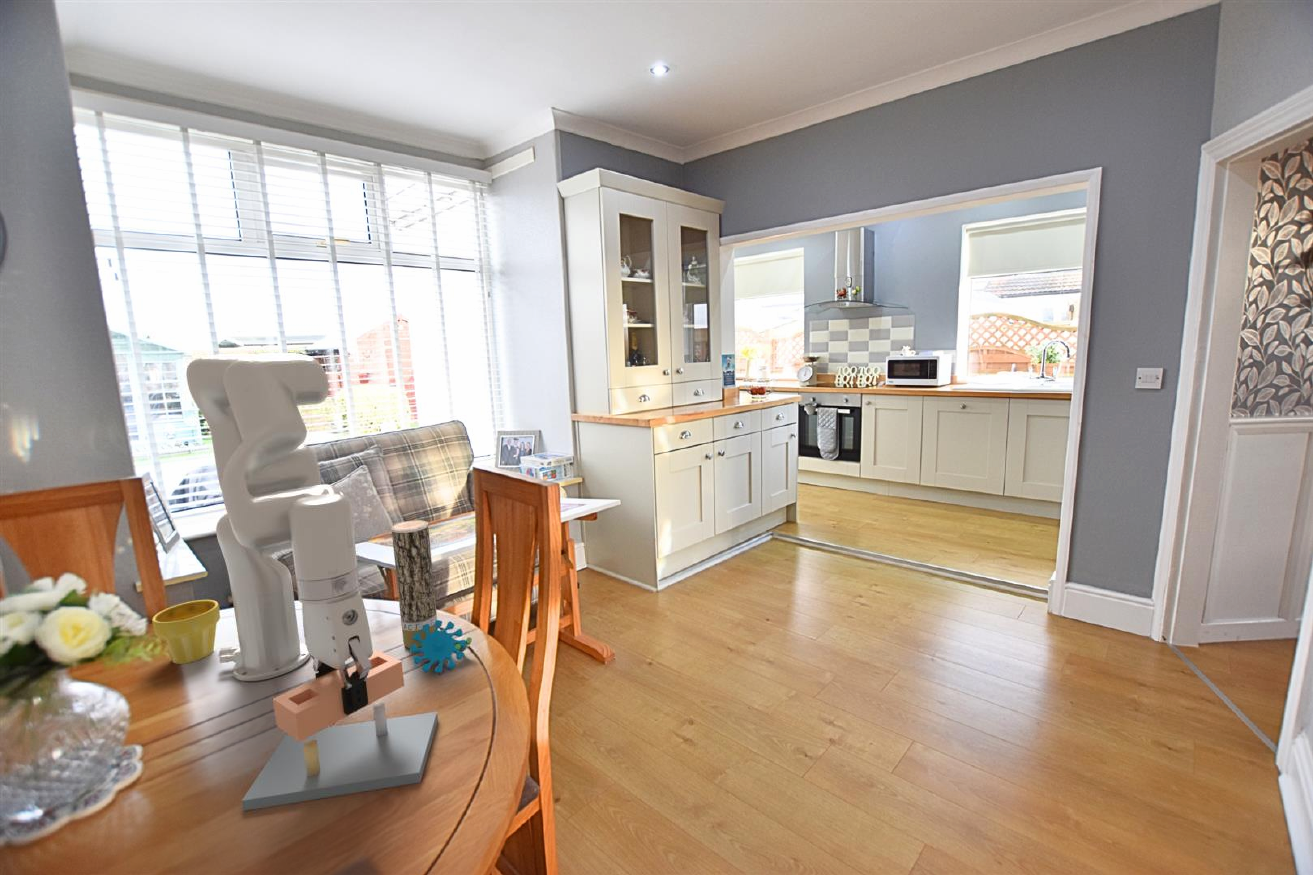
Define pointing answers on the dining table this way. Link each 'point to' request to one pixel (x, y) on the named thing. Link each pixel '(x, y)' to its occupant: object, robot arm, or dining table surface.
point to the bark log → (414, 579)
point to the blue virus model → (439, 646)
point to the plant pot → (188, 629)
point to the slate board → (345, 760)
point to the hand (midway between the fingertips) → (343, 700)
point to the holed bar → (332, 697)
